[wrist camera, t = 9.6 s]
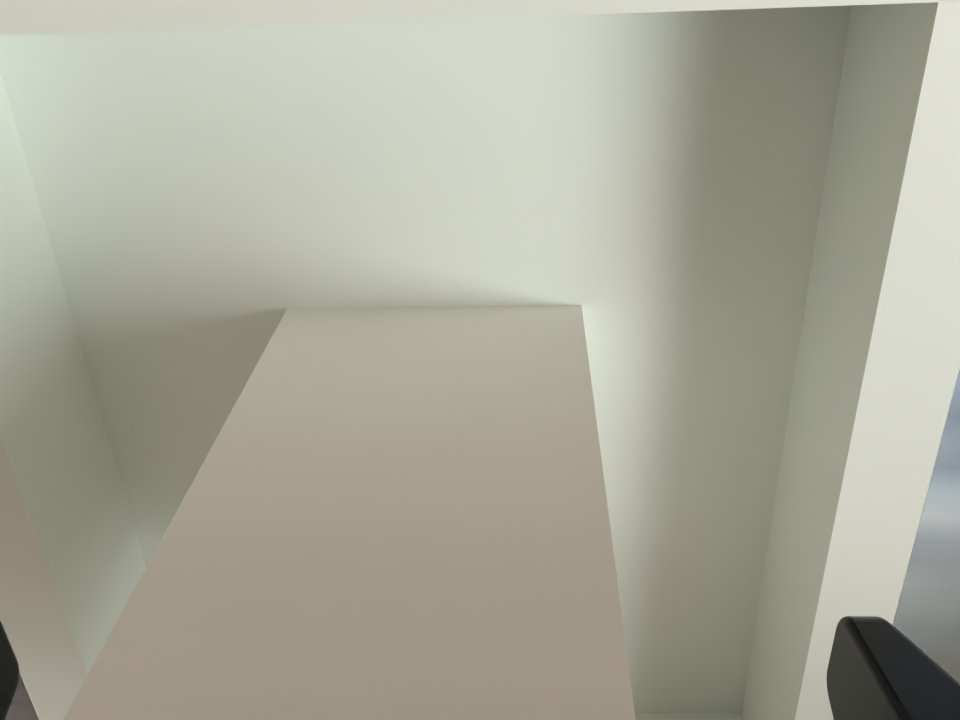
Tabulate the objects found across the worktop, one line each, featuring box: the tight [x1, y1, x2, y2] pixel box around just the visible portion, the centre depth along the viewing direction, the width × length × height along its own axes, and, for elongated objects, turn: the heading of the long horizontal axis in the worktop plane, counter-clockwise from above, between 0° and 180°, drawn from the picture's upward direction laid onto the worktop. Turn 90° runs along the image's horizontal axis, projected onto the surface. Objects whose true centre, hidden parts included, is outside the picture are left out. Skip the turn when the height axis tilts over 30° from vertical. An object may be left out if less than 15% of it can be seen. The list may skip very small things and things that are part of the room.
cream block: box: [63, 305, 635, 720], centre depth 9 cm, size 4×4×9 cm
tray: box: [0, 0, 960, 720], centre depth 12 cm, size 12×14×3 cm
